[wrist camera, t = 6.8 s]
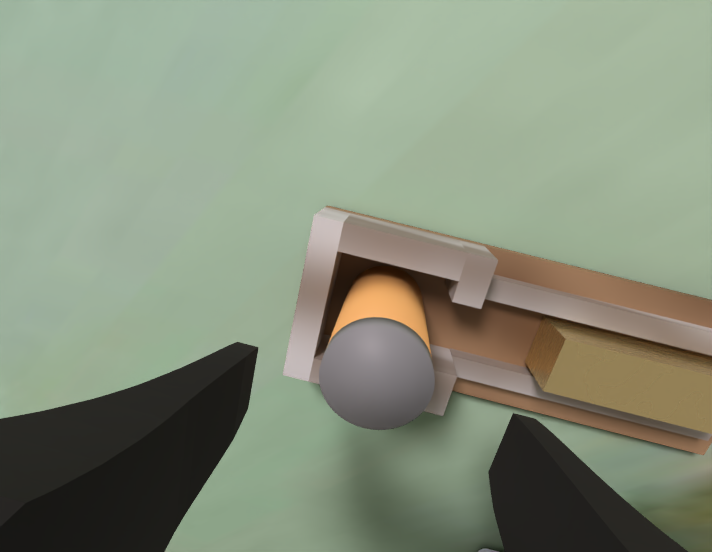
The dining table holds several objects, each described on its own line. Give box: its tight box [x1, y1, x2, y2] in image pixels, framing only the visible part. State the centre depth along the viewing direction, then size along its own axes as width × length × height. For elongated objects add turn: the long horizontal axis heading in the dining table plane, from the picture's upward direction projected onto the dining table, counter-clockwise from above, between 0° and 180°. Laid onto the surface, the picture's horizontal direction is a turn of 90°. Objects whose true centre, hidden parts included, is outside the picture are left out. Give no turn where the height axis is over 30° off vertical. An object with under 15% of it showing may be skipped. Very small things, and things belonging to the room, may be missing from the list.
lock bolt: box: [525, 316, 712, 434], centre depth 17 cm, size 2×8×2 cm, turn 77°
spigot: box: [319, 266, 435, 430], centre depth 16 cm, size 4×4×7 cm
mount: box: [283, 206, 712, 455], centre depth 18 cm, size 8×21×3 cm, turn 77°
